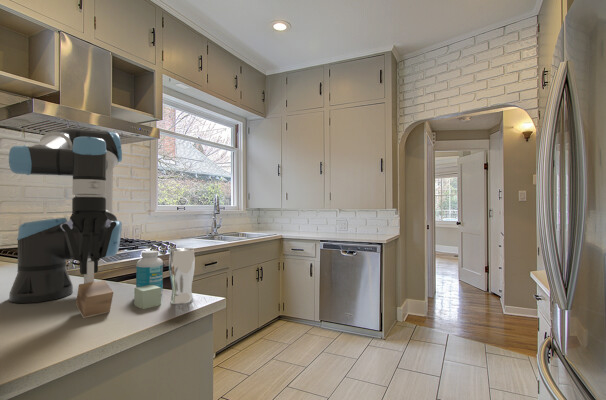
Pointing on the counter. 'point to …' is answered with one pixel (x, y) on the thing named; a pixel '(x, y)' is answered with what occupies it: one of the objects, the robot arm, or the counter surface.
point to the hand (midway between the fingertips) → (88, 285)
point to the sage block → (147, 296)
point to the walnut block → (94, 298)
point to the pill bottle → (149, 270)
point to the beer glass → (181, 274)
